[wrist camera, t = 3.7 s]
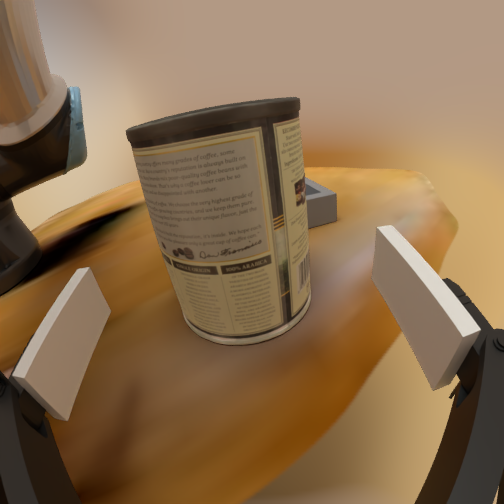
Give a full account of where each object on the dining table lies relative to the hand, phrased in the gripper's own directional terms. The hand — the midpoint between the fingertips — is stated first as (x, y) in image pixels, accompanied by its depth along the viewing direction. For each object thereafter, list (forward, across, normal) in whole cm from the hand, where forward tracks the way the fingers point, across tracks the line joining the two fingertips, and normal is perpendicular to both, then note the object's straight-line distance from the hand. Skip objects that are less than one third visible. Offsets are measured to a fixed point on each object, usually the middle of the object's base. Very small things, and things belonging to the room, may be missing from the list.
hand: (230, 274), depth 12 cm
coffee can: (+7, 0, -8) cm, 11 cm away
